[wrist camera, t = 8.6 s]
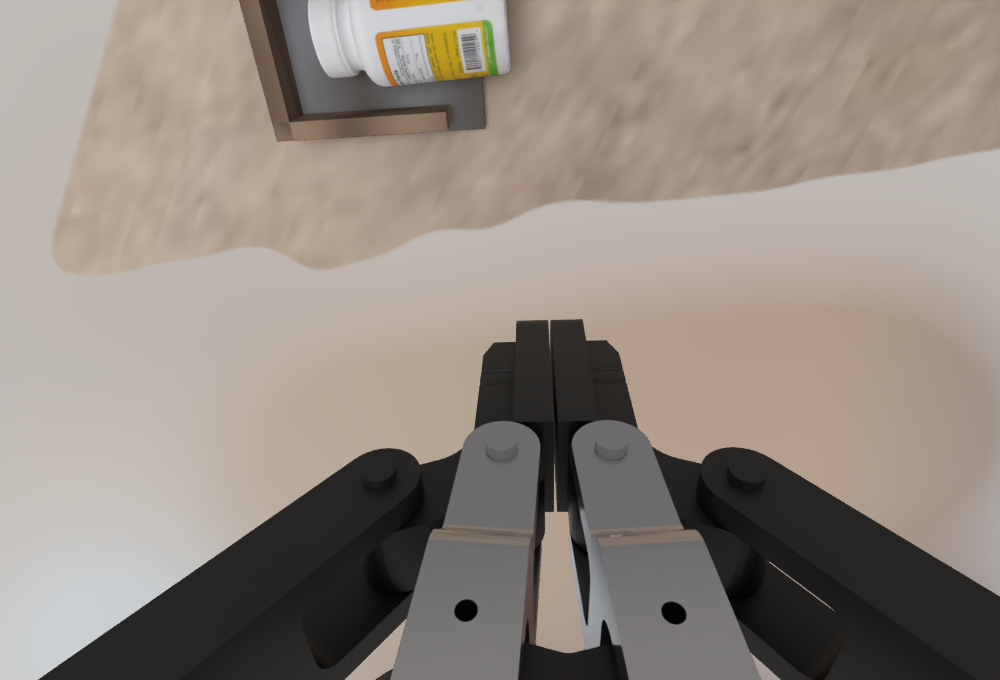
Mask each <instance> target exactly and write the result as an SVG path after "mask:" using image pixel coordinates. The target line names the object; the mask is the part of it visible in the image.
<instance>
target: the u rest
mask: <svg viewBox="0 0 1000 680" xmlns="http://www.w3.org/2000/svg"><path fill="white" fill-rule="evenodd" d="M308 1H309V0H239V2H240V6H241V10H242V13H243V17H244V21H245V24H246V28H247V32H248V36H249V39H250V43H251V47H252V50H253V54H254V58H255V61H256V65H257V69H258V73H259V76H260V80H261V84H262V87H263V91H264V95H265V98H266V102H267V106H268V110H269V113H270V117H271V121H272V124H273V128H274V132H275V136H276V139H277V142H280V141H298V140H314V139H330V138H345V137H361V136H376V135H392V134H407V133H423V132H438V131H454V130H469V129H485V126H486V122H485V108H484V95H483V82H482V77H474V78H465V79H455V80H445V81H436V82H426V83H418V84H409V85H401V86H389V87H384V86H380V85H378V84H376V83H375V82H373V81H372V80H371V79H370V77H369V76H368V75H367V73H366V71H364V70H361V71H360V72H359V74H358V75H357V76H353V77H342V78H332V77H330V76H328V75H327V74H326V72H325V71H324V69H323V68H322V66H321V64H320V62H319V59H318V57H317V54H316V51H315V48H314V44H313V41H312V37H311V33H310V27H309V20H308Z"/></svg>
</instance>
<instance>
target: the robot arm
mask: <svg viewBox="0 0 1000 680" xmlns="http://www.w3.org/2000/svg"><path fill="white" fill-rule="evenodd" d="M554 464H555V482H556V500H557V512H568V514H569V526H570V529H569V550H570V556H571V562H572V568H573V574H574V580H575V587H576V592H577V599H578V605H579V611H580V617H581V623H582V630H583V636H584V645H585V650H583V651H579V652H575V653H562V652H558V651H554V650H551V649H547V648H544V647H540V646H536V628H537V613H538V599H539V583H540V567H541V552H542V551H541V550H542V539H543V537H544V533H545V512H554ZM769 561H770V562H771V563H773V564H774V565H775V566H777V567H778V568H779V569H781V570H782V571H783V572H785V573H786V574H787V575H789V576H790V577H791V578H793V579H794V580H795V581H797V582H798V583H799V584H801V585H802V586H803V587H805V588H806V589H807V590H809V591H810V592H811V593H813V594H814V595H816V596H817V597H818V598H820V599H821V600H822V601H823V602H825V603H826V604H828V605H829V606H830V607H831V608H832V609H833V610H834V611H833V610H832V609H831V608H829V607H828V606H826V605H825V604H824V603H822V602H821V601H820V600H818V599H817V598H816V597H814V596H813V595H812V594H810V593H809V592H808V591H806V590H805V589H804V588H802V587H801V586H800V585H798V584H797V583H796V582H794V581H793V580H792V579H790V578H789V577H788V576H786V575H785V574H784V573H782V572H781V571H780V570H778V569H777V568H776V567H774V566H773V565H772V564H770V563H769ZM406 618H407V620H406V623H405V627H404V631H403V634H402V638H401V642H400V645H399V649H398V653H397V657H396V660H395V664H394V668H393V669H392V670H390V671H388V672H386V673H385V674H383V675H382V676H380V677H379V678H377V679H376V680H761V677H760V675H759V673H758V670H757V668H756V665H755V663H754V660H753V658H752V656H751V653H752V654H753V655H754V656H755V657H756V658H757V659H758V660H760V661H761V662H762V663H763V664H764V665H765V666H766V667H768V668H769V669H770V670H771V671H772V672H773V673H774V674H775V675H776V676H777V677H779V678H780V679H781V680H1000V596H998V595H996V594H995V593H993V592H991V591H990V590H988V589H986V588H985V587H983V586H981V585H980V584H978V583H976V582H975V581H973V580H971V579H970V578H968V577H966V576H965V575H963V574H961V573H960V572H958V571H957V570H955V569H953V568H952V567H950V566H948V565H947V564H945V563H943V562H942V561H940V560H938V559H937V558H935V557H933V556H932V555H930V554H928V553H927V552H925V551H923V550H922V549H920V548H918V547H917V546H915V545H913V544H912V543H910V542H908V541H907V540H905V539H903V538H902V537H900V536H899V535H896V534H895V533H894V532H892V531H890V530H889V529H887V528H885V527H884V526H882V525H880V524H879V523H877V522H875V521H874V520H872V519H870V518H869V517H867V516H865V515H864V514H862V513H860V512H859V511H857V510H855V509H854V508H852V507H850V506H849V505H847V504H845V503H844V502H842V501H841V500H839V499H837V498H836V497H834V496H832V495H831V494H829V493H827V492H826V491H824V490H822V489H820V488H819V487H817V486H816V485H814V484H812V483H811V482H809V481H807V480H806V479H804V478H802V477H801V476H799V475H797V474H796V473H794V472H792V471H791V470H789V469H787V468H786V467H784V466H783V465H781V464H779V463H777V462H776V461H774V460H773V459H771V458H769V457H767V456H765V455H763V454H761V453H759V452H756V451H753V450H749V449H744V448H736V447H731V448H722V449H718V450H715V451H713V452H711V453H710V454H708V455H707V456H706V457H705V458H704V460H703V462H702V464H700V463H696V462H691V461H687V460H683V459H678V458H675V457H671V456H669V455H666V454H663V453H662V452H660V451H658V450H656V449H655V448H653V447H652V446H651V444H650V442H649V440H648V438H647V437H646V436H645V434H643V433H642V432H641V431H640V430H639V429H638V427H637V423H636V419H635V415H634V411H633V407H632V404H631V400H630V395H629V392H628V388H627V384H626V380H625V376H624V372H623V369H622V364H621V360H620V356H619V353H618V352H617V351H616V350H615V349H614V348H613V347H612V346H611V345H610V344H609V343H608V342H607V341H606V340H602V341H586V337H585V332H584V326H583V320H582V319H579V320H578V319H576V320H551V323H550V346H549V329H548V320H535V321H534V320H533V321H517V324H516V342H501V343H500V342H498V343H493V345H492V346H491V347H490V348H489V349H488V351H487V352H486V353H485V354H484V356H483V364H482V373H481V379H480V387H479V396H478V404H477V412H476V420H475V428H474V431H472V432H471V433H470V434H469V435H468V436H467V438H466V440H465V442H464V445H463V448H462V449H461V450H460V451H458V452H457V453H455V454H453V455H451V456H449V457H447V458H444V459H440V460H437V461H433V462H429V463H425V464H422V465H419V463H418V461H417V460H416V458H415V457H414V456H412V455H411V454H410V453H408V452H406V451H403V450H399V449H392V448H391V449H390V448H386V449H378V450H374V451H371V452H367V453H365V454H363V455H361V456H359V457H358V458H356V459H354V460H353V461H352V462H350V463H349V464H347V465H346V466H344V467H343V468H341V469H340V470H339V471H337V472H336V473H334V474H333V475H331V476H330V477H328V478H327V479H326V480H324V481H323V482H321V483H320V484H318V485H317V486H316V487H314V488H313V489H312V490H310V491H308V492H307V493H306V494H304V495H303V496H301V497H300V498H298V499H297V500H295V501H294V502H293V503H291V504H290V505H288V506H287V507H285V508H284V509H283V510H281V511H280V512H278V513H277V514H275V515H274V516H273V517H271V518H270V519H268V520H267V521H265V522H264V523H262V524H261V525H260V526H258V527H257V528H255V529H254V530H252V531H251V532H249V533H248V534H247V535H245V536H244V537H242V538H241V539H239V540H238V541H237V542H235V543H234V544H232V545H231V546H229V547H228V548H227V549H225V550H224V551H222V552H221V553H219V554H218V555H216V556H215V557H214V558H212V559H211V560H209V561H208V562H207V563H205V564H204V565H202V566H201V567H199V568H198V569H196V570H195V571H194V572H192V573H191V574H189V575H188V576H186V577H185V578H183V579H182V580H181V581H179V582H178V583H176V584H175V585H173V586H172V587H170V588H169V589H168V590H166V591H165V592H163V593H162V594H160V595H159V596H158V597H156V598H155V599H153V600H152V601H150V602H149V603H148V604H146V605H145V606H143V607H142V608H140V609H139V610H138V611H136V612H135V613H134V614H132V615H130V616H129V617H127V618H126V619H125V620H123V621H122V622H120V623H119V624H117V625H116V626H114V627H113V628H112V629H110V630H109V631H107V632H106V633H104V634H103V635H102V636H100V637H99V638H97V639H96V640H94V641H93V642H91V643H90V644H89V645H87V646H86V647H84V648H83V649H81V650H80V651H79V652H77V653H76V654H74V655H73V656H72V657H70V658H68V659H67V660H66V661H64V662H63V663H61V664H60V665H58V666H57V667H56V668H54V669H53V670H51V671H50V672H48V673H47V674H46V675H44V676H43V677H41V678H40V679H38V680H345V679H346V678H347V677H348V676H349V675H350V674H351V673H352V672H353V671H354V670H355V669H356V668H357V667H358V666H359V665H360V664H361V663H362V662H363V661H364V660H365V659H366V658H367V657H368V656H369V655H370V654H371V653H372V652H373V651H374V650H375V649H376V648H377V647H378V646H379V645H380V644H381V643H382V642H383V641H384V640H385V639H386V638H387V637H388V636H389V635H390V634H391V633H392V632H393V631H394V630H395V629H396V628H397V627H398V626H399V625H400V624H401V623H402V622H403V621H404V620H405V619H406ZM750 652H751V653H750Z"/></svg>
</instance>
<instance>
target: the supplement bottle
mask: <svg viewBox="0 0 1000 680" xmlns="http://www.w3.org/2000/svg"><path fill="white" fill-rule="evenodd" d="M308 20H309V27H310V33H311V37H312V41H313V44H314V48H315V51H316V54H317V57H318V59H319V62H320V64H321V66H322V68H323V69H324V71H325V72H326V74H327V75H328V76H330V77H332V78H342V77H353V76H357V75H358V74H359V72H360V71H361V70H364V71H366V73H367V75H368V76H369V77H370V79H371V80H372V81H373V82H375V83H376V84H378V85H380V86H384V87H389V86H401V85H409V84H418V83H426V82H436V81H445V80H455V79H465V78H474V77H483V76H492V75H500V74H506V73H508V72H509V71H510V68H511V60H510V49H509V35H508V21H507V6H506V0H309V1H308Z"/></svg>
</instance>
